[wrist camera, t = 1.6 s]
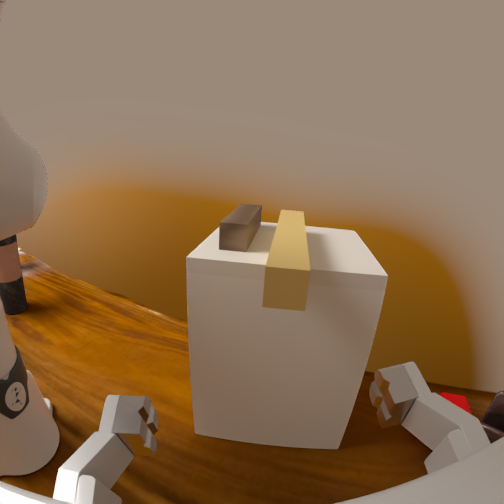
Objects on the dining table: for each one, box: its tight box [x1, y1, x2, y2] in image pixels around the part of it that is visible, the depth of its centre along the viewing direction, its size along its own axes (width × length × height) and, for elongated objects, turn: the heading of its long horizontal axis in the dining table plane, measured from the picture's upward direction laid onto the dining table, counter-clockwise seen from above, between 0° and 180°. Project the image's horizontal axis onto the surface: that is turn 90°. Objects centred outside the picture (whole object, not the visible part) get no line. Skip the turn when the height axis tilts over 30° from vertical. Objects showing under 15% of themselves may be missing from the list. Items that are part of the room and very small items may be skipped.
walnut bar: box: [219, 204, 262, 252], centre depth 41 cm, size 3×14×3 cm, turn 172°
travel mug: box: [0, 235, 27, 314], centre depth 62 cm, size 8×8×20 cm
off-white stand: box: [186, 222, 388, 449], centre depth 44 cm, size 20×20×26 cm
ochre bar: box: [262, 210, 310, 311], centre depth 33 cm, size 3×24×3 cm, turn 172°
